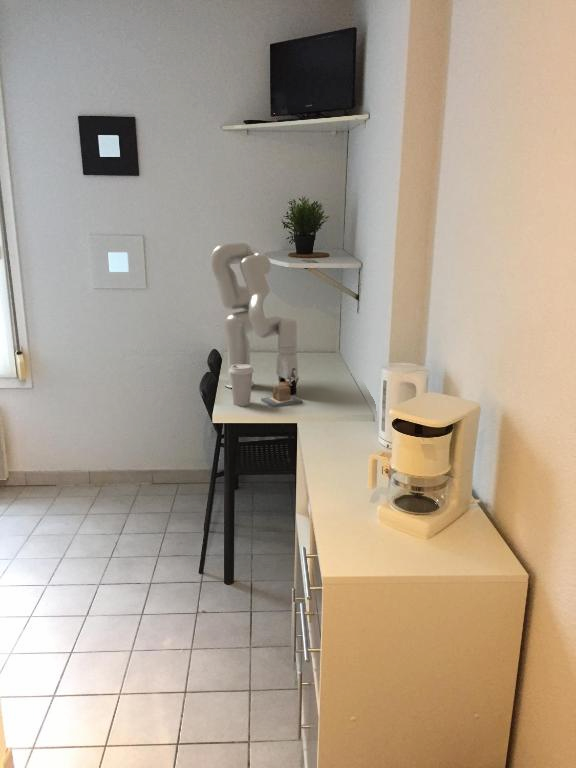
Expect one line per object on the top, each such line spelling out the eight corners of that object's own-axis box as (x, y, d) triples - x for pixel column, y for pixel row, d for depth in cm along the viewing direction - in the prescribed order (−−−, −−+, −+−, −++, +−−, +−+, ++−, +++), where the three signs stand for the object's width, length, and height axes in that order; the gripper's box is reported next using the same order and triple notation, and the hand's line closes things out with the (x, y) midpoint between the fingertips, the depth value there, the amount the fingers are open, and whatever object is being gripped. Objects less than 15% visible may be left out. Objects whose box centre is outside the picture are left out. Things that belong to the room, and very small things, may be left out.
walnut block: (272, 398, 258) (272, 386, 257) (283, 396, 260) (284, 384, 259) (279, 401, 254) (279, 389, 253) (290, 399, 256) (290, 387, 255)
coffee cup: (229, 400, 259) (229, 363, 255) (253, 400, 260) (253, 363, 256) (229, 407, 250) (228, 369, 246) (254, 407, 250) (253, 369, 246)
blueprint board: (261, 400, 259) (261, 398, 258) (289, 396, 265) (289, 393, 265) (273, 407, 250) (273, 404, 250) (302, 402, 256) (302, 399, 256)
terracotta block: (278, 394, 268) (278, 382, 267) (289, 392, 271) (289, 380, 270) (284, 397, 264) (284, 385, 263) (295, 395, 267) (295, 383, 265)
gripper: (269, 347, 268) (269, 388, 273) (290, 354, 253) (290, 398, 258) (285, 345, 272) (285, 386, 276) (306, 352, 257) (306, 396, 261)
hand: (287, 392), depth 267 cm, fingers open, 7 cm apart
